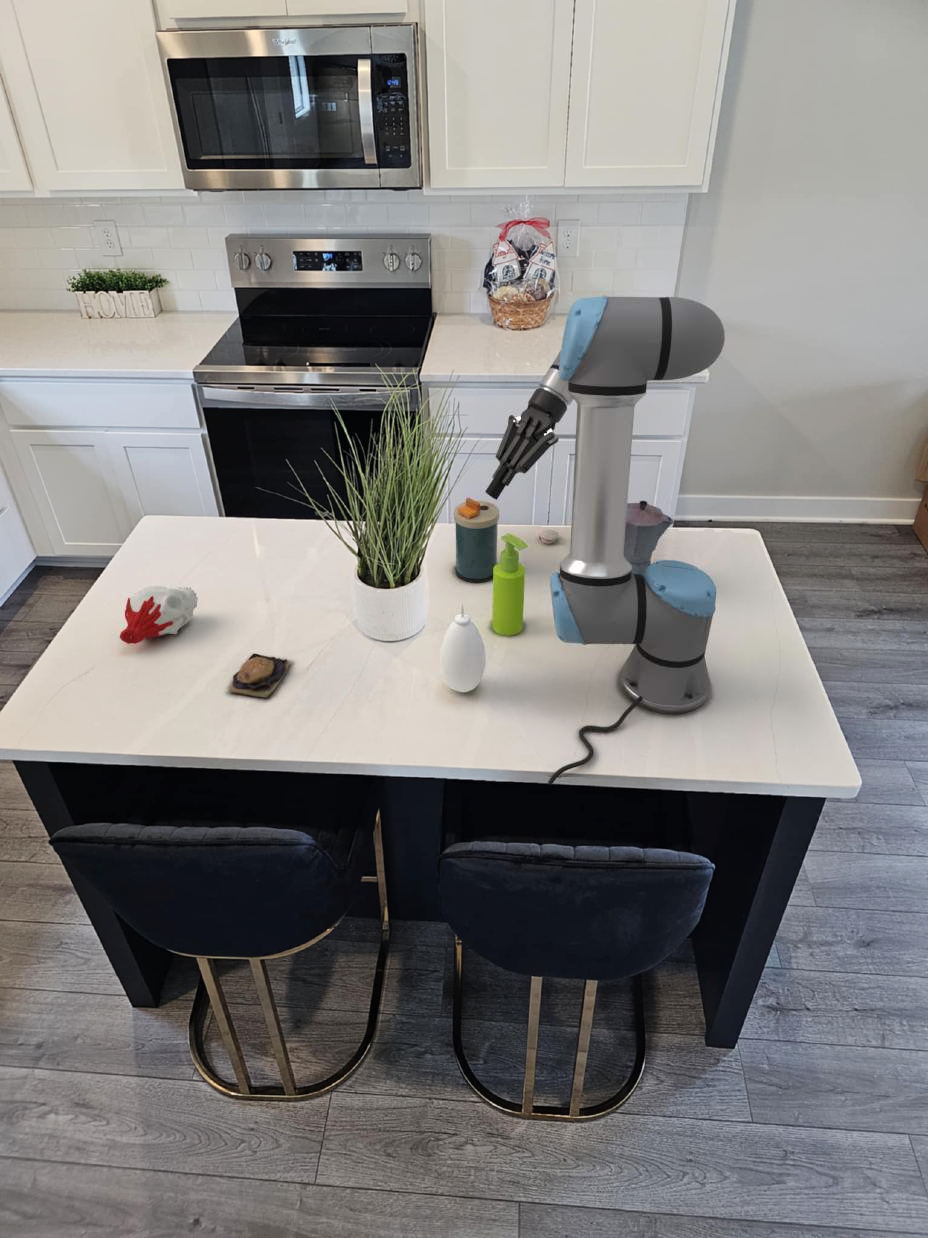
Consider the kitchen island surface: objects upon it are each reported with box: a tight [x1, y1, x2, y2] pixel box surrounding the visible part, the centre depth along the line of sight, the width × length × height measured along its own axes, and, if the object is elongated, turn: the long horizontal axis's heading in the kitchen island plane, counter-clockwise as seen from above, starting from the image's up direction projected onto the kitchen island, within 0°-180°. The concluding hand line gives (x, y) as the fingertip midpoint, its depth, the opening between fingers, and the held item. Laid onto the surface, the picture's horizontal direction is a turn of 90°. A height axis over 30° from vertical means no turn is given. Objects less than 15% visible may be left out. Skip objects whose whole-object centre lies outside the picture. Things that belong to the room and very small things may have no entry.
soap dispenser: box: [491, 533, 529, 637], centre depth 158 cm, size 6×7×20 cm
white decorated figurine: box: [119, 585, 199, 644], centre depth 161 cm, size 9×11×15 cm
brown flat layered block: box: [229, 652, 291, 699], centre depth 151 cm, size 11×8×4 cm
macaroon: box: [538, 529, 559, 544], centre depth 191 cm, size 4×5×2 cm
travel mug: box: [453, 500, 500, 584], centre depth 177 cm, size 9×9×14 cm
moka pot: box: [623, 500, 675, 574], centre depth 170 cm, size 10×15×20 cm, turn 78°
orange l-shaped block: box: [458, 497, 480, 518], centre depth 170 cm, size 3×4×2 cm
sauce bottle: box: [439, 603, 486, 693], centre depth 144 cm, size 8×8×18 cm
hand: (490, 495), depth 173 cm, fingers closed
